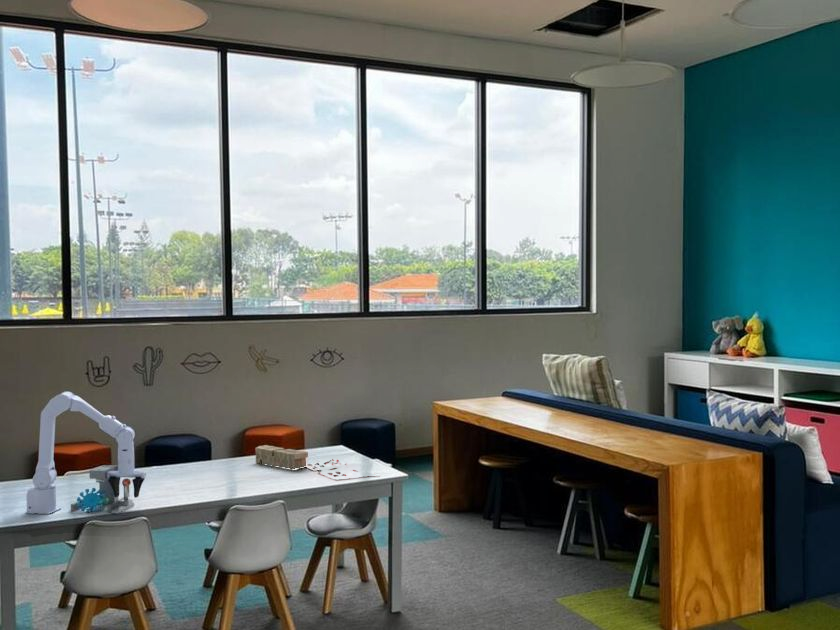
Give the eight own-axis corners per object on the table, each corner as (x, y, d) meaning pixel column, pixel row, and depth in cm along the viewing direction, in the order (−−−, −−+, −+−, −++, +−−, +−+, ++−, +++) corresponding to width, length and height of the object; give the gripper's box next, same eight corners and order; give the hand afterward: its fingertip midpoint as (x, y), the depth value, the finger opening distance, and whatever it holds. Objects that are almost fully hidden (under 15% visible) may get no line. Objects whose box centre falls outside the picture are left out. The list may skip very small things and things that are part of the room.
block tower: (253, 465, 387) (295, 471, 368) (253, 447, 387) (294, 452, 368) (266, 462, 393) (308, 468, 374) (266, 444, 393) (307, 450, 374)
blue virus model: (73, 509, 299) (79, 485, 306) (74, 518, 303) (80, 494, 310) (105, 512, 301) (111, 488, 308) (106, 520, 305) (111, 496, 312)
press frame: (68, 512, 301) (68, 474, 301) (92, 500, 317) (91, 464, 317) (117, 513, 299) (117, 475, 298) (138, 502, 315) (138, 465, 315)
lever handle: (121, 505, 307) (120, 479, 306) (124, 503, 310) (124, 477, 309) (128, 505, 306) (128, 479, 306) (132, 503, 309) (132, 477, 309)
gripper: (102, 462, 304) (102, 498, 305) (139, 462, 303) (140, 499, 303) (111, 458, 311) (112, 494, 312) (148, 459, 310) (148, 495, 310)
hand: (126, 496), depth 308 cm, fingers open, 7 cm apart
